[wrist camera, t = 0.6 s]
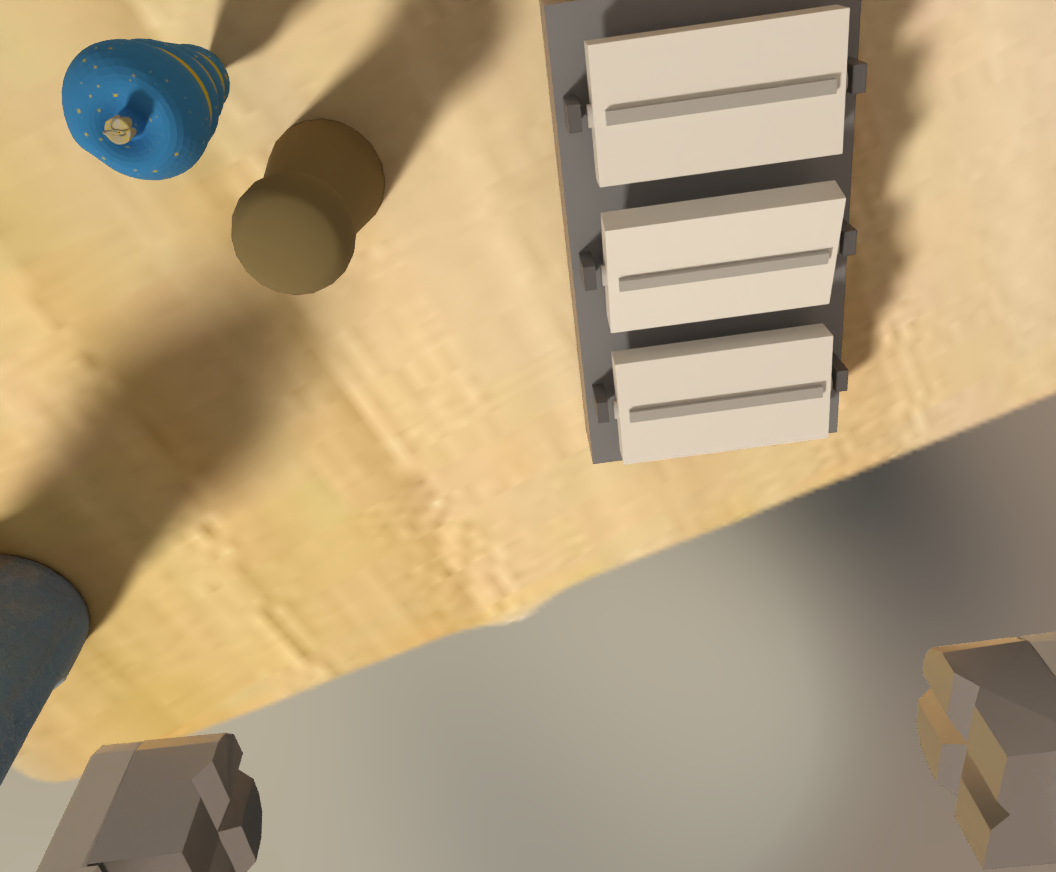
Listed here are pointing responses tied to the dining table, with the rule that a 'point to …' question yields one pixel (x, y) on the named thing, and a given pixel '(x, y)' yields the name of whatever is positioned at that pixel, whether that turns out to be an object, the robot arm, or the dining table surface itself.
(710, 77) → the panel
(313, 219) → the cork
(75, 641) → the bottle
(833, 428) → the switch unit
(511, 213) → the dining table surface
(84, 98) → the ornament
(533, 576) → the dining table surface
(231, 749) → the robot arm
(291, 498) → the dining table surface
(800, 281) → the rocker
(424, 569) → the dining table surface
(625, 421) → the grooved switch paddle
